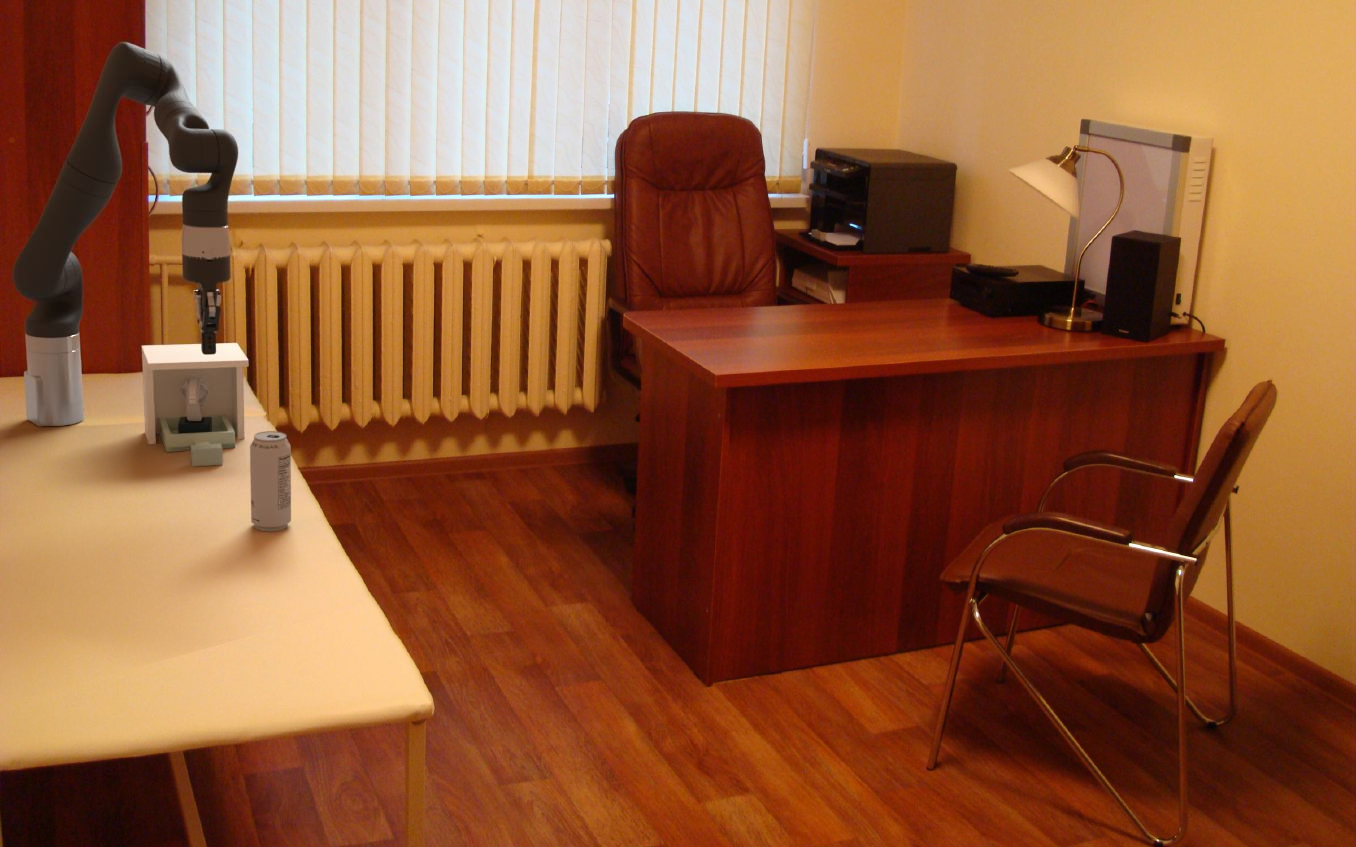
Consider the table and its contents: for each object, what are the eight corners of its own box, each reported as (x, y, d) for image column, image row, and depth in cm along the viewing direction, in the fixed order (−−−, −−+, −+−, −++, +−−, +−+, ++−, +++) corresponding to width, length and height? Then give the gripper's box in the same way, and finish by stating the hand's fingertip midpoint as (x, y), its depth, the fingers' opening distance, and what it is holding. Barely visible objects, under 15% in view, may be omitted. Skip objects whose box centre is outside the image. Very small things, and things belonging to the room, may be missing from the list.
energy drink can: (260, 517, 205) (259, 428, 201) (297, 521, 205) (296, 432, 200) (245, 530, 199) (243, 439, 195) (282, 534, 199) (281, 443, 195)
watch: (212, 429, 244) (211, 374, 241) (209, 442, 237) (207, 385, 234) (181, 429, 243) (179, 373, 240) (177, 442, 235) (175, 384, 232)
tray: (243, 463, 229) (242, 446, 228) (171, 468, 224) (171, 450, 223) (226, 429, 248) (225, 413, 247) (159, 433, 242) (159, 417, 241)
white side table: (249, 448, 238) (248, 360, 233) (151, 454, 230) (148, 363, 226) (238, 427, 250) (237, 343, 245) (145, 432, 242) (141, 345, 237)
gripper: (177, 245, 215) (180, 345, 220) (186, 258, 204) (189, 363, 208) (224, 245, 218) (226, 344, 223) (235, 258, 207) (237, 362, 212)
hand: (208, 353), depth 216 cm, fingers closed
